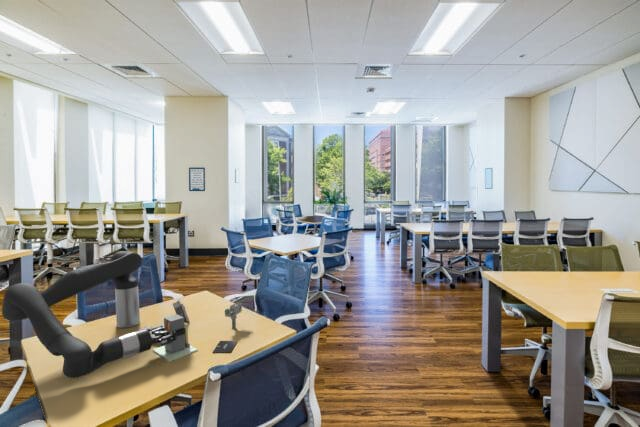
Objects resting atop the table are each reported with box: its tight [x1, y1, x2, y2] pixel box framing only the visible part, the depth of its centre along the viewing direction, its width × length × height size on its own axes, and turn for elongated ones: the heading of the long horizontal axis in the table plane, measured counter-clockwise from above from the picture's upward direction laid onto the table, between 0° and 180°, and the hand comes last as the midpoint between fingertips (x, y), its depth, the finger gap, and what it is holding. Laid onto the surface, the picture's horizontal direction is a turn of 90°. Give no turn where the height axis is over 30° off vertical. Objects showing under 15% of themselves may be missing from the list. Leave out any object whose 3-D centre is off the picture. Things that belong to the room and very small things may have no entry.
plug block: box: [163, 313, 185, 353], centre depth 131 cm, size 6×5×12 cm
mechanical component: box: [224, 302, 243, 330], centre depth 152 cm, size 3×10×10 cm, turn 158°
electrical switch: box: [172, 298, 190, 323], centre depth 163 cm, size 9×5×9 cm, turn 30°
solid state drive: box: [212, 340, 238, 354], centre depth 134 cm, size 7×10×1 cm
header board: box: [152, 322, 199, 362], centre depth 131 cm, size 13×11×10 cm
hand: (180, 328), depth 133 cm, fingers closed on plug block, 5 cm apart
